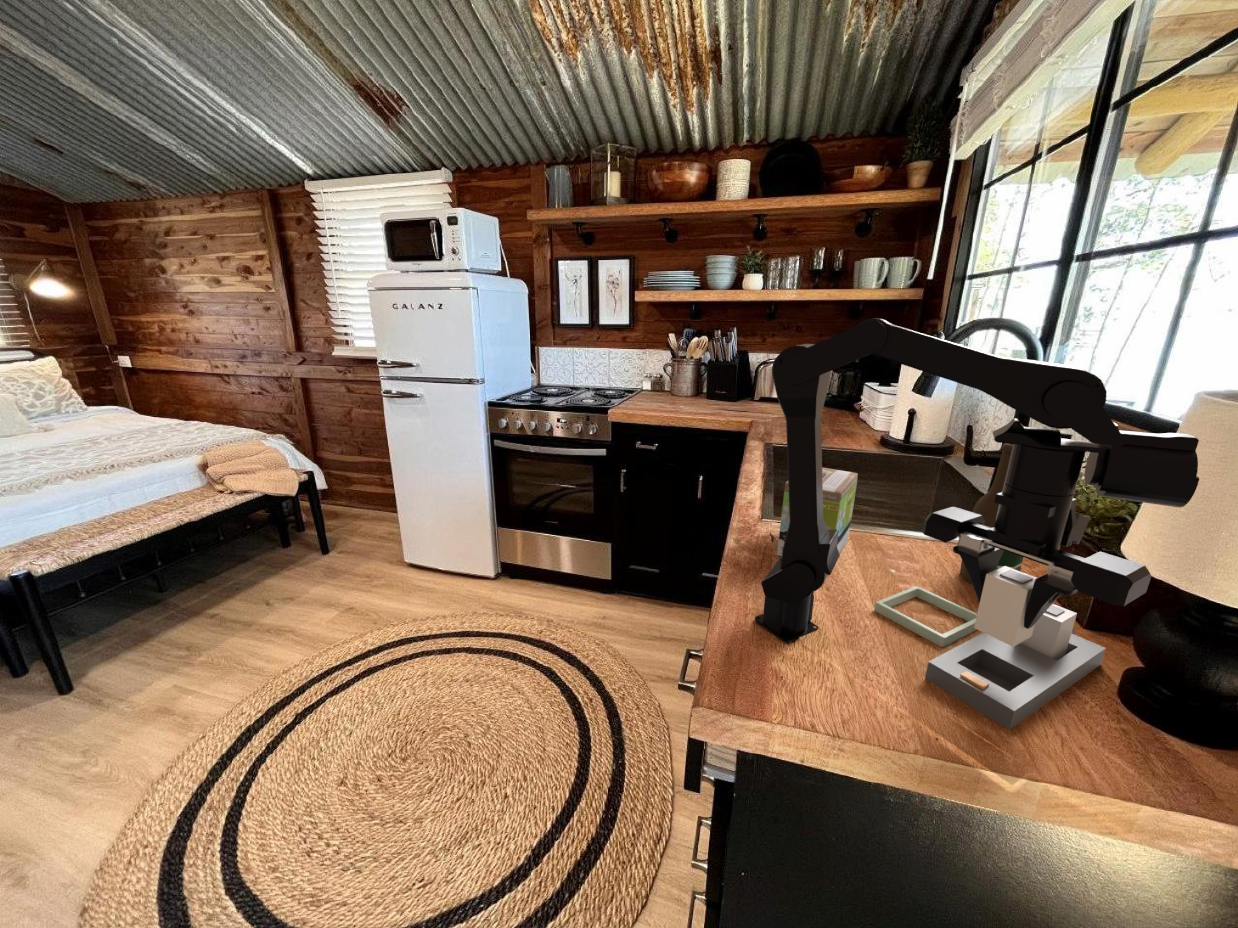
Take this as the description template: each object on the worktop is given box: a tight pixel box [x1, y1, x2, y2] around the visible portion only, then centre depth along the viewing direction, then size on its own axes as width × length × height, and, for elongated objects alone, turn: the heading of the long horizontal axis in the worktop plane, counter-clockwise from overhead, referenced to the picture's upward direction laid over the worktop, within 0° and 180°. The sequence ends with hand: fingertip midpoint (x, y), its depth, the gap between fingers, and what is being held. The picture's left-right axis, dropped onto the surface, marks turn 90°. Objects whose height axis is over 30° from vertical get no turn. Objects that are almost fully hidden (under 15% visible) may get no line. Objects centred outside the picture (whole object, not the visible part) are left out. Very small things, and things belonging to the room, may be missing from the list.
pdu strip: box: [924, 629, 1107, 731], centre depth 62 cm, size 25×9×3 cm, turn 118°
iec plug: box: [974, 566, 1038, 647], centre depth 56 cm, size 4×4×7 cm
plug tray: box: [873, 585, 978, 648], centre depth 73 cm, size 10×10×2 cm
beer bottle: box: [959, 443, 1024, 585], centre depth 80 cm, size 8×8×24 cm
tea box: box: [776, 466, 859, 558], centre depth 94 cm, size 15×10×15 cm
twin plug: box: [1021, 603, 1078, 660], centre depth 63 cm, size 4×4×7 cm
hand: (1005, 617), depth 57 cm, fingers closed on iec plug, 4 cm apart
